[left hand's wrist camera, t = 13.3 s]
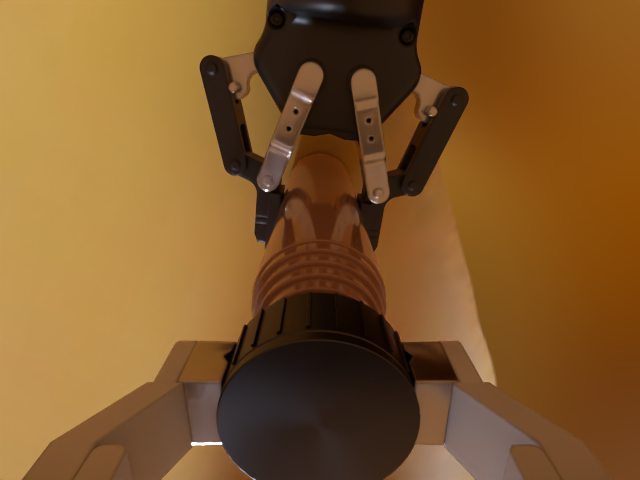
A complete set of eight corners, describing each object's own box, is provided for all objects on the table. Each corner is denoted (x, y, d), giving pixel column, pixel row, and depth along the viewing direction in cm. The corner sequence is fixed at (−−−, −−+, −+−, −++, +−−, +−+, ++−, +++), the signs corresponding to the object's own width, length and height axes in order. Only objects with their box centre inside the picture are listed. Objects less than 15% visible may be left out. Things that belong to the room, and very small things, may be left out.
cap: (417, 415, 11) (436, 481, 9) (260, 443, 11) (248, 512, 9) (388, 272, 9) (405, 317, 8) (208, 310, 10) (182, 363, 8)
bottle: (355, 205, 30) (432, 467, 9) (297, 218, 31) (250, 497, 10) (343, 146, 29) (403, 306, 8) (282, 160, 29) (188, 348, 8)
